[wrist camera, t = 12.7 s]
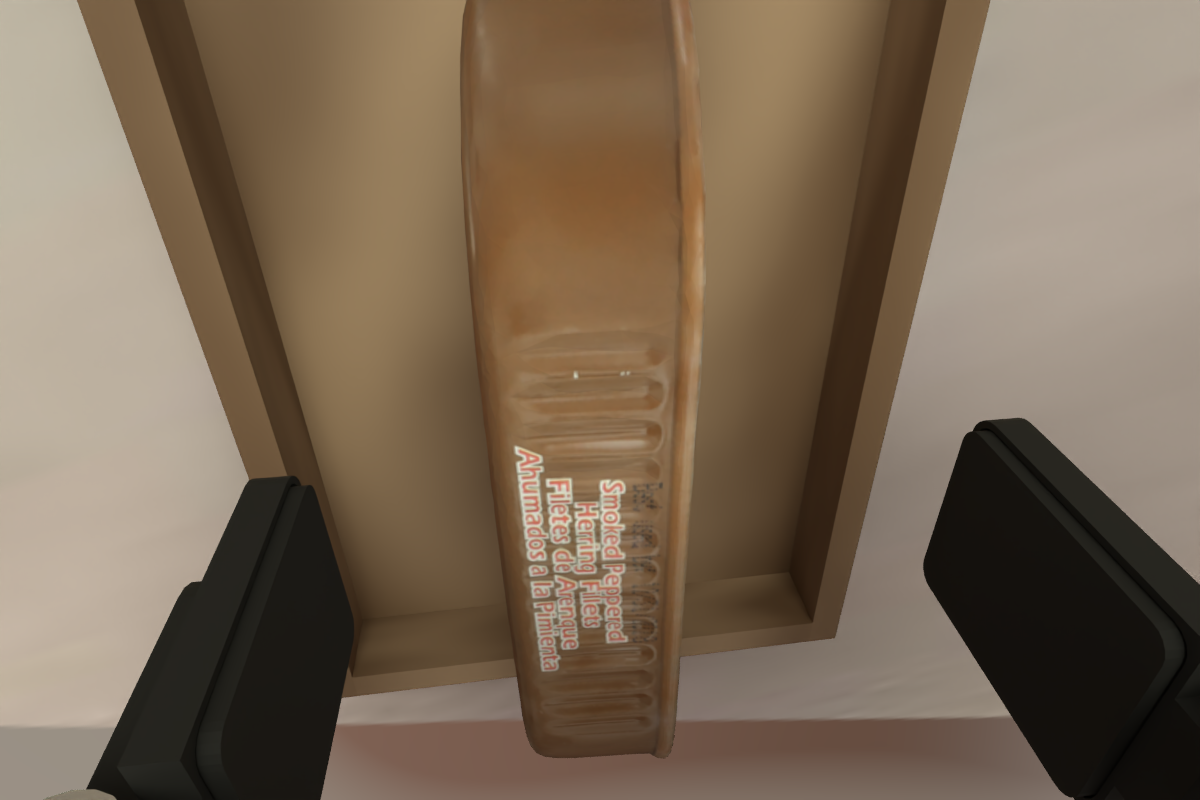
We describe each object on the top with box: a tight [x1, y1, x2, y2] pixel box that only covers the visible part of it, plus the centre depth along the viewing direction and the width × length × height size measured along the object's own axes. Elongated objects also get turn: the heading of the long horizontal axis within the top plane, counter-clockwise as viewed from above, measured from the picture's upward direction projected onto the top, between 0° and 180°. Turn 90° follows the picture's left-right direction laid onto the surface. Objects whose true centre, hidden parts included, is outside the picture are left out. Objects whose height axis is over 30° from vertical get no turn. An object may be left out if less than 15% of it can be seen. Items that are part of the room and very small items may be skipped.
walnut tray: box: [77, 0, 990, 698], centre depth 16 cm, size 15×21×3 cm
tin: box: [460, 0, 706, 758], centre depth 13 cm, size 15×3×8 cm, turn 1°
